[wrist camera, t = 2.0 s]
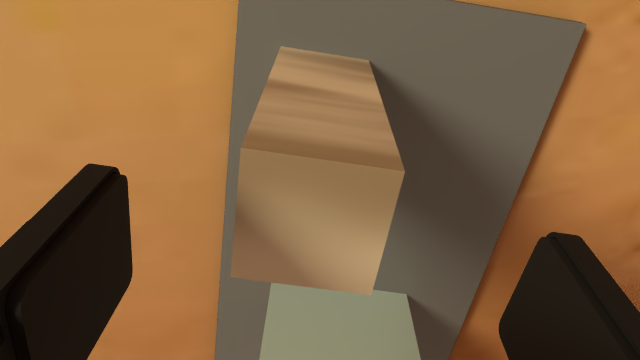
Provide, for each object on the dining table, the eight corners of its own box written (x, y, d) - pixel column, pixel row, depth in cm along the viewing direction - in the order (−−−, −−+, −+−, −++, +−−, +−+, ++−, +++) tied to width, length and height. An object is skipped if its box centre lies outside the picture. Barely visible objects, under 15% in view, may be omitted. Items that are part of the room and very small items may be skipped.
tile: (400, 313, 28) (424, 441, 21) (269, 297, 28) (250, 422, 21) (406, 293, 27) (434, 419, 20) (272, 276, 27) (253, 399, 20)
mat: (427, 399, 33) (428, 407, 32) (215, 375, 32) (213, 382, 31) (579, 21, 21) (586, 24, 20) (243, -36, 20) (241, -35, 19)
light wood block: (352, 140, 23) (371, 295, 13) (271, 128, 23) (230, 277, 13) (368, 60, 21) (405, 171, 11) (280, 46, 21) (240, 147, 11)
